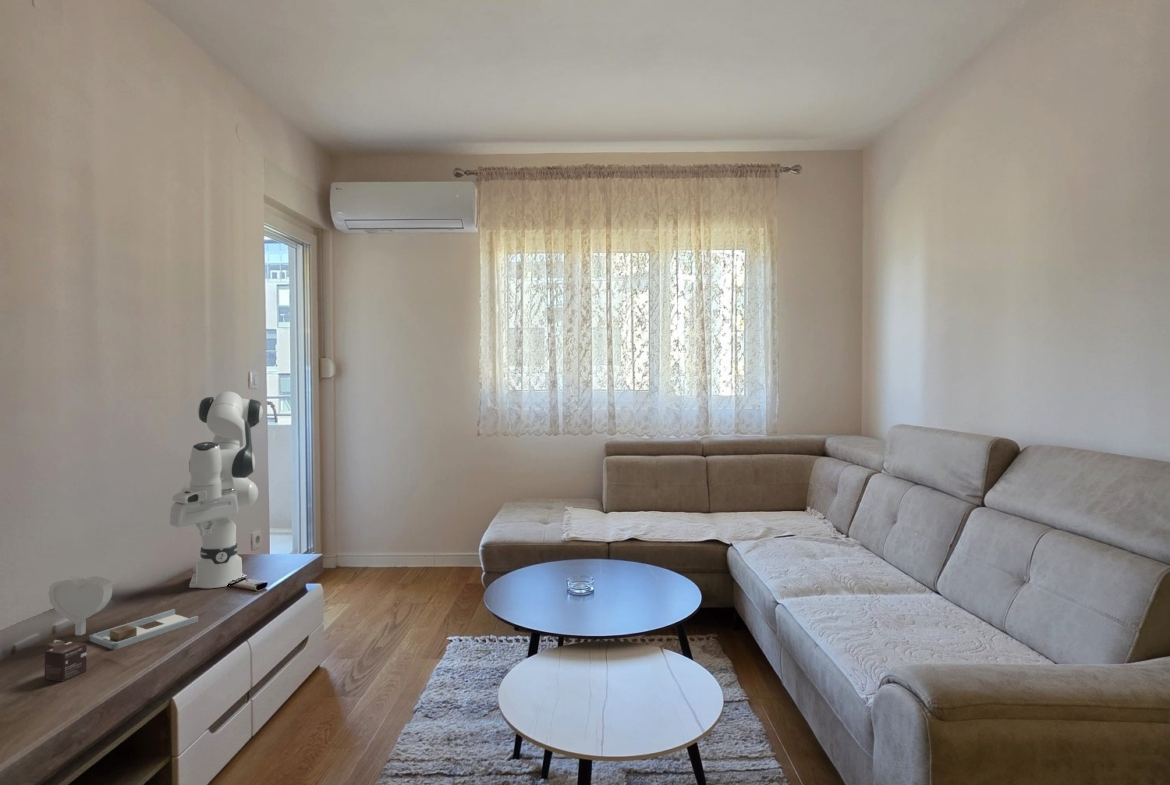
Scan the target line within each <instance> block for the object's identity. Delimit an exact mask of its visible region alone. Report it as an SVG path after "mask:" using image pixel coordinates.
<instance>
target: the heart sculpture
mask: <svg viewBox="0 0 1170 785" xmlns="http://www.w3.org/2000/svg"><path fill="white" fill-rule="evenodd" d="M113 588H114V587H113V582H112V581H111V580H110V579H108V578H105V577H102V576H93V575H92V576H91V577H88V578H83V577H81V576H76V575H75V576H74V575H73V576H71V577H70V576H69V577H66V578H63V579H60V580H58V581H55V582H53V583H52V584H50V586H49V588H48V599H49V603H50V606H52V608H53V609H54V611H55V612H57V613H58V614H59V615H60V616H62V617H63V618H65V619H66V620H69V621H71V622H72V623H73V624H75V626H74V627H75V628H74V629H75V630H74V636H83V635H85V634H86V632H87V630H86V629H87V628H86V626H87V624H86V623H87V619H89V618H90V617H92V616H93V615H95V614H97V613H98V612H100V611H102V609H103V608H105V607H107V605H108V603H109V602H110V601H111V599H112V595H113V590H114V589H113ZM53 642H54V643H53V644H59V643H58V642H65V641H64V640H61V639H59V640H56V639H55V640H53ZM56 642H57V643H56Z"/></svg>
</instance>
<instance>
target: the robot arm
mask: <svg viewBox="0 0 1170 785" xmlns="http://www.w3.org/2000/svg"><path fill="white" fill-rule="evenodd" d="M263 414H264V410H263V406H262V403H261V402H260V401H259V400H256V399H252V398H250V399H248V398H242V397H241V396H240V394H238V393H237V392H234V391H230V390H229V391H223V392H220V393H219V394H217V395H216V397H214V396H208V397H204V398H202V400H200V402H199V405H198V406H197V415H198V418H199V420H200V421H201V422H202V423H204V424H206V425H207V427H208V429H209V430H210V432H211V433H213V434H214V436H213V439H212V441H203V442H199V443H196V444H194V445H193V446H192V447H191V452H190V458H189V462H188V464H189V466H188V468H189V469H188V471H189V474H190V481H189V483H186V484H185V485H183V488H182V489H181V490H180V492H178V493H175V494H174V495H173V496H172V501H173V502H174V503H173V504H172V505H171V508H170V515H169V524H170V525H171V526H172V527H174V528H183V527H187V526H193V525H195V526H196V527H197V529H198V530H199V535H200V536H201V541H202V542H201V547H200V551H199V555H200V559H199V561H198V562H197V563H196V565H193V566H192V572H193V573H194V574H192V577H191V579H190V582H189V585H188V587H189V588H197V589H198V588H199V589H214V588H215V589H216V588H222V587H223V588H224V587H228V586H227V585H228V583H229V582H230V581H232V580H236V579H238V578H241V577H245V576H248V575H247V574H245V573H244V572H243V564H242V563H243V562H242V557H241V556H239V555H238V543H237V524H236V523H235V521H233V520H232V519H231V518H229V517H234V516H237V515H238V513H239V509H243V508H248V507H252V506H253V505H254V504H255V503H256V502H257V499H258V497H259V488H258V486H257V485H256V483H255V482H254V481H253V480H250V479H249V476H250V475H251V474H253V473H254V471H255V468H256V458H255V457H256V456H255V454H254V452H253V440H252V438H253V437H252V432H251V428H253V427H255V426H257V425H258V424H259V423H260V421H261V419H262V418H263ZM221 478H222V479H221ZM242 575H243V576H242Z"/></svg>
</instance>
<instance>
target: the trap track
mask: <svg viewBox="0 0 1170 785" xmlns="http://www.w3.org/2000/svg"><path fill="white" fill-rule="evenodd" d="M153 622H156V623H157V622H158V623H161V624H159V625H157V626H154V627H150V628H143V627H140V626H144V625H146V624H150V623H153ZM197 622H199V616H198V615H195V616H191V617H186V616H183V615H179V614H176V609H175V608H172V609H170V610H167V611H162V612H159V613H157V614H154V615H151V616H150V615H149V616H147V617H144V618H143V617H142V618H141V619H137V620H134V621H131V622H127V623H125V624H121V625H117V626H114V627H112V628H108V629H105V630H101V631H99V632H95V633H91V634H89V635H88V641H89V642H91V643H94V644H96V645H100V646H103V647H105V648H107V649H111V650H113V651H115V650H118V649H121V648H124V647H127V646H129V645H133V644H135V643H140V642H141V641H144V640H148V639H150V638H153V637H157V636H160V635H162V634H165V633H168V632H172V631H174V630H177V629H180V628H183V627H186V626H189V625H191V624H194V623H197ZM126 625H129V626H133V627H136V628H137V636H134V637H131V638H128V639H125V640H122V641H119V642H114V641H111V640H110V630H113V629H116V628H120V627H123V626H126Z"/></svg>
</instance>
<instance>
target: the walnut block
mask: <svg viewBox="0 0 1170 785" xmlns="http://www.w3.org/2000/svg"><path fill="white" fill-rule="evenodd" d="M134 636H137V628H136V627H133V626H129V625H126V626H123V627H120V628H116V629H113V630H110V635H109V637H110V640H111V641H114V642H119V641H122V640H125V639H128V638H131V637H134Z"/></svg>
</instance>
